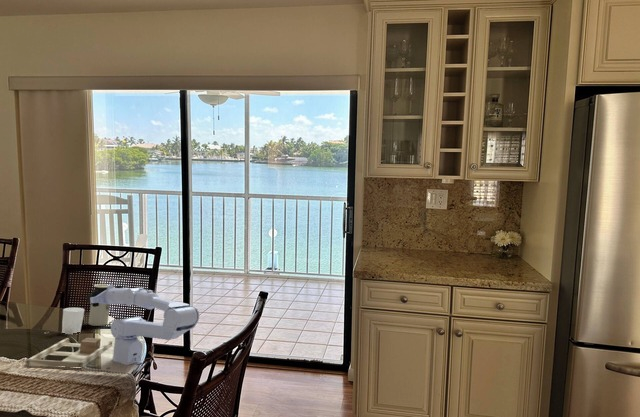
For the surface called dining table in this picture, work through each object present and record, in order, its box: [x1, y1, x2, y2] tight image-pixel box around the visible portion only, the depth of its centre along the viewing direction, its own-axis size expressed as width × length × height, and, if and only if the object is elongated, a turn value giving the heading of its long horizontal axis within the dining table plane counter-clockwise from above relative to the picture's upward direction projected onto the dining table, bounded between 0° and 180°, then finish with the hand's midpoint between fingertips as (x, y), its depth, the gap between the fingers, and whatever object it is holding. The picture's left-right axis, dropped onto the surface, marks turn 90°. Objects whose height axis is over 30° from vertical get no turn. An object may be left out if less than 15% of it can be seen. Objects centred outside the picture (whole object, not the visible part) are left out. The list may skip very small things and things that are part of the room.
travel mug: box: [88, 283, 111, 327], centre depth 201 cm, size 8×8×18 cm
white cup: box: [61, 307, 85, 335], centre depth 183 cm, size 8×8×10 cm
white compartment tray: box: [25, 337, 113, 368], centre depth 153 cm, size 27×17×3 cm, turn 6°
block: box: [79, 337, 101, 353], centre depth 159 cm, size 5×5×4 cm
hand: (97, 295), depth 165 cm, fingers open, 7 cm apart
